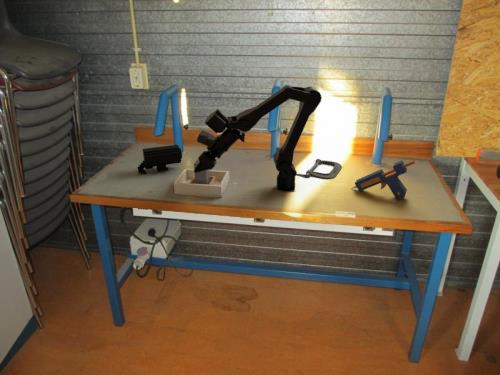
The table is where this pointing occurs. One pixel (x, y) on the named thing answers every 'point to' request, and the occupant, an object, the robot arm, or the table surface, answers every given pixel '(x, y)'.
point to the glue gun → (386, 180)
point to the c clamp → (322, 175)
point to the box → (214, 189)
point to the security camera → (160, 158)
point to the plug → (201, 175)
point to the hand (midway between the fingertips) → (198, 166)
